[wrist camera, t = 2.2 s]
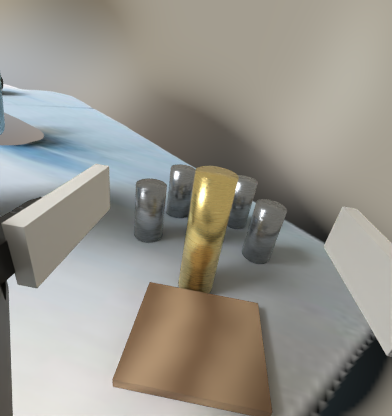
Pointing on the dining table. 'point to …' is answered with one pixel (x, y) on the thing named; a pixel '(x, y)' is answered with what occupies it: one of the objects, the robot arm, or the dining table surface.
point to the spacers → (180, 205)
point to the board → (197, 351)
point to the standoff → (206, 226)
